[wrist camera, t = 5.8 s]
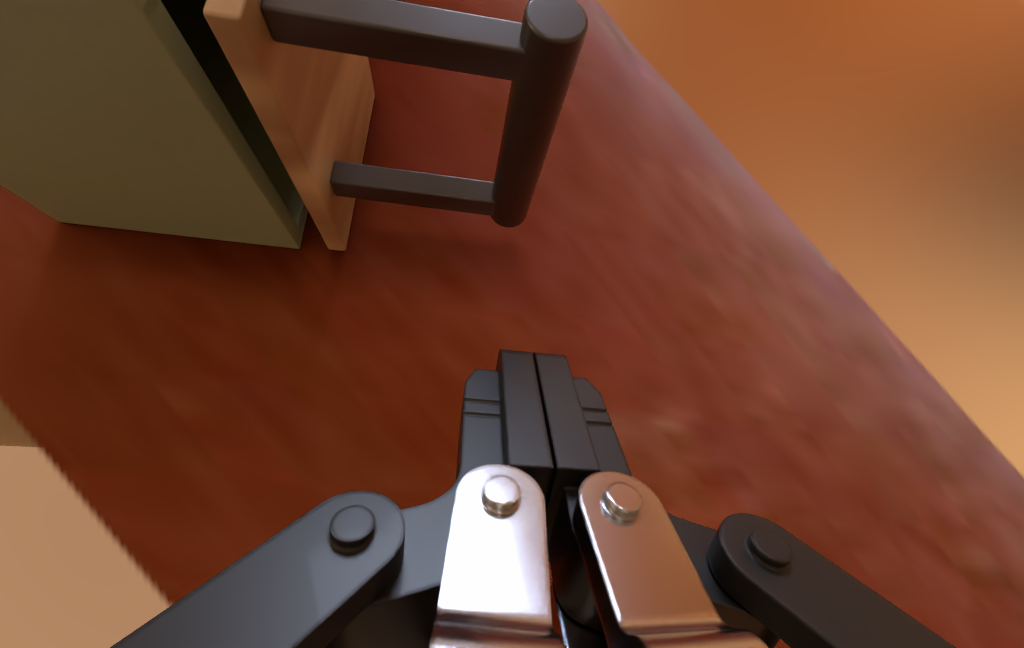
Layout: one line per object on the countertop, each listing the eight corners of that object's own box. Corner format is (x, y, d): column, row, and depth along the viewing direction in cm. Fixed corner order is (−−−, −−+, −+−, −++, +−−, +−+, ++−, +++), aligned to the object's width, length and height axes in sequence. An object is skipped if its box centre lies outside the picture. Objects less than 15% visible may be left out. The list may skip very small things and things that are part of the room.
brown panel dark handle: (328, 250, 21) (195, 2, 10) (359, 92, 23) (284, -242, 12) (514, 271, 22) (588, 69, 11) (524, 117, 24) (590, -170, 13)
